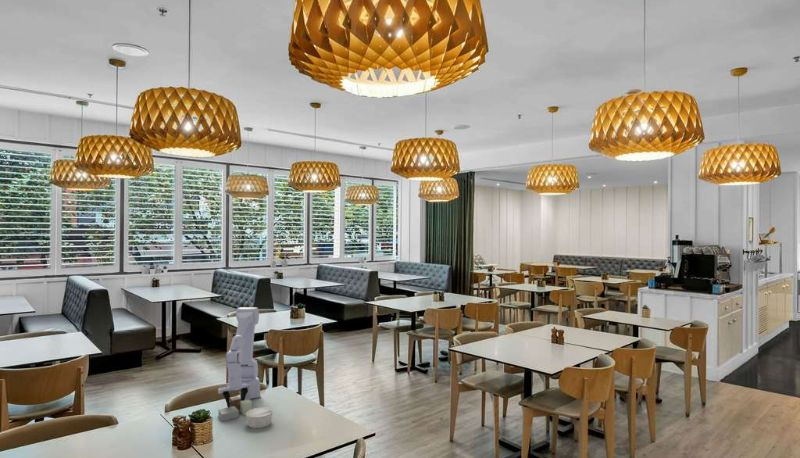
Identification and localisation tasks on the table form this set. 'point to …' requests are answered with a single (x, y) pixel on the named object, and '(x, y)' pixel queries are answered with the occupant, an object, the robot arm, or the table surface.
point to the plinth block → (228, 413)
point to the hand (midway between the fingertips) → (235, 406)
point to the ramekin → (259, 417)
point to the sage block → (245, 406)
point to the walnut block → (235, 402)
